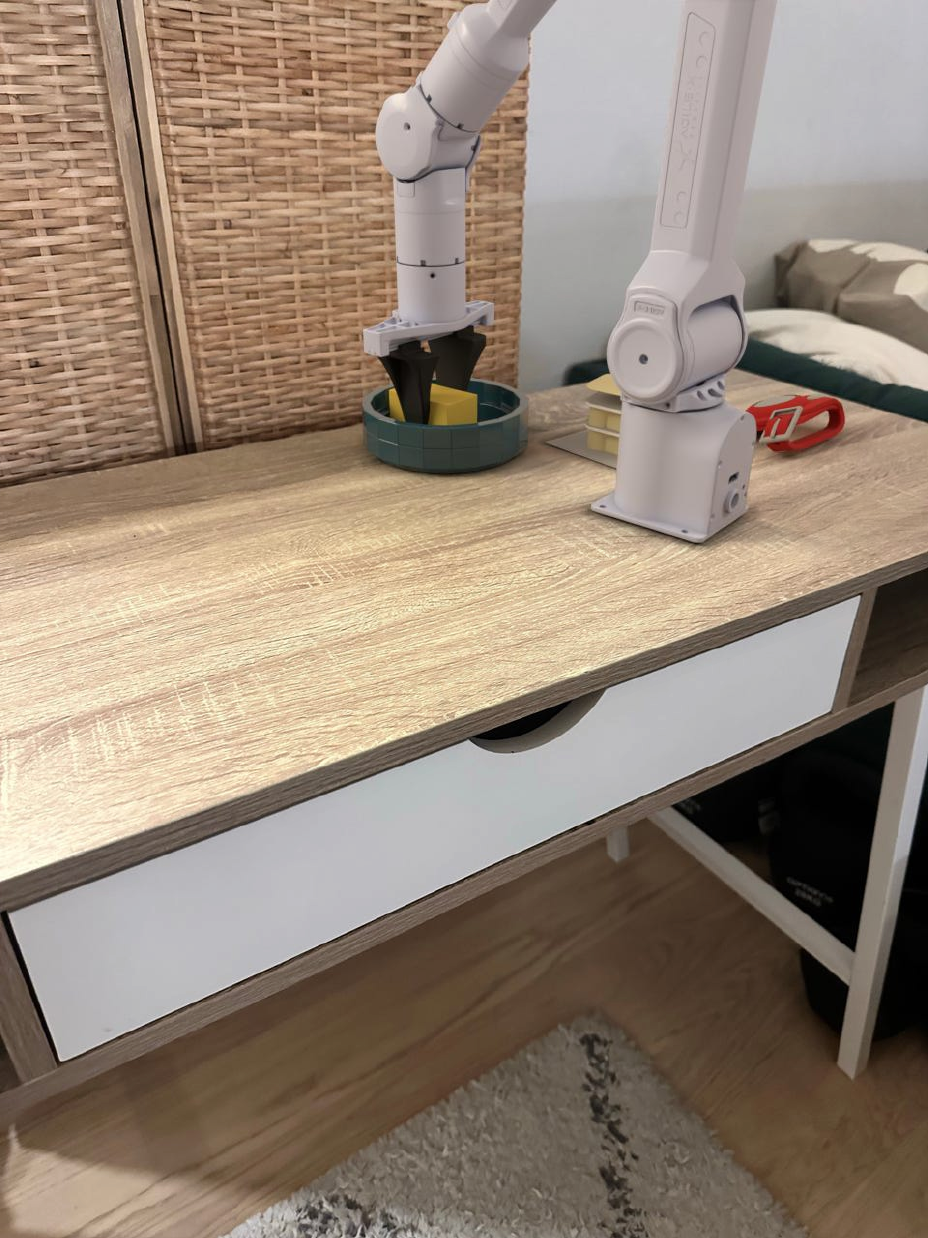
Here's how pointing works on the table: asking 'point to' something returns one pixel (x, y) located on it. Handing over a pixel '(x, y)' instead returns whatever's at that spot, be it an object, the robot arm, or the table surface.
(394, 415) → the sponge
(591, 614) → the table surface
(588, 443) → the stacked layers on plate
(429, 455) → the bowl
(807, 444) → the red buckle strap
